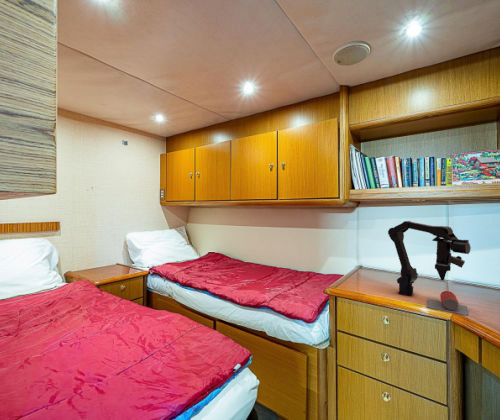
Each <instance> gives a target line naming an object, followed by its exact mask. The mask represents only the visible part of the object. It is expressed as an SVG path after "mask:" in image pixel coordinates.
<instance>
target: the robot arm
mask: <svg viewBox="0 0 500 420" xmlns="http://www.w3.org/2000/svg"><path fill="white" fill-rule="evenodd" d="M409 229H410V230H415V231H420V232H424V233H428V234H430V235H432V236H434V238H432V240H431V241H433V242H436V252H435V254H436V259H435V264H434V269H435V270H436V271H437V274H438V276H439V278H440V280H441V282H442V281H445V277H446V274H447V272H451V267H452V266H451V265H455V266H457V267H459V268H463V266H465V265H464V264H465V262H466V261H465V260H463V259H462V258H463V257H462V256H460V255H457V256H453V255H452V253H457V254H458V253H459V254H463V255H469V254H470V253H471V248H472V247H471V244H470V242H469V241H470V240H469V239H459V238H458V237H457V236H456V235H455V234H454V230H453V229H452V228H451V227H450V226H448V225H447V226H446V225H445V226H443V225H429V224H424V223H419V222H414V221H410V220H405V221H403V222H402V223H399V224H398V225H395V226H394V227H390V228H389V229H388V230H387V234H388V237H389V238H390V240H391V241H392V242H393V244H394V246H395V249H396V254H397V256H398V260H399V263H400V267H401V268H400V277H398V278H397V279H396V282H397V284H398V295H404V296H408V297H412V295H414V286H413V284H414V283H415V282H416V281H417V280H418V276H419V274H418V272H417V268H416V267H413V266H412V265H411V262H410V258H409V255H408V253H407V249H406V247H405V243H404V238H405V234H404V233H406V232H407V231H408V230H409ZM451 251H452V253H451Z"/></svg>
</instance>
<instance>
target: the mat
mask: <svg viewBox="0 0 500 420" xmlns="http://www.w3.org/2000/svg"><path fill="white" fill-rule="evenodd" d="M426 308H427V309H432V310H436V311H441V312H446V313H450V314H456V315H459V316H460V315H462V316H464V317H465V316H466V317H469V311H468V306H467V305H464V304H459V306H458V308H457V309H455V310H449V309H447V308H445V307H444V306H443V304H442V301H441V300H439V299H438V300H437V299H432V298H428V299H427V303H426Z"/></svg>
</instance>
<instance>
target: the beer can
mask: <svg viewBox="0 0 500 420" xmlns="http://www.w3.org/2000/svg"><path fill="white" fill-rule="evenodd" d="M439 297H440V301H442V304H443V306H444V307H445V308H447V309H449V310H455V309H457V308H458V306H459V300H458V299H457V297H456V294H454V293H453V292H452V291H450V290H444V291H442V292H441V293H440V294H439Z"/></svg>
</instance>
